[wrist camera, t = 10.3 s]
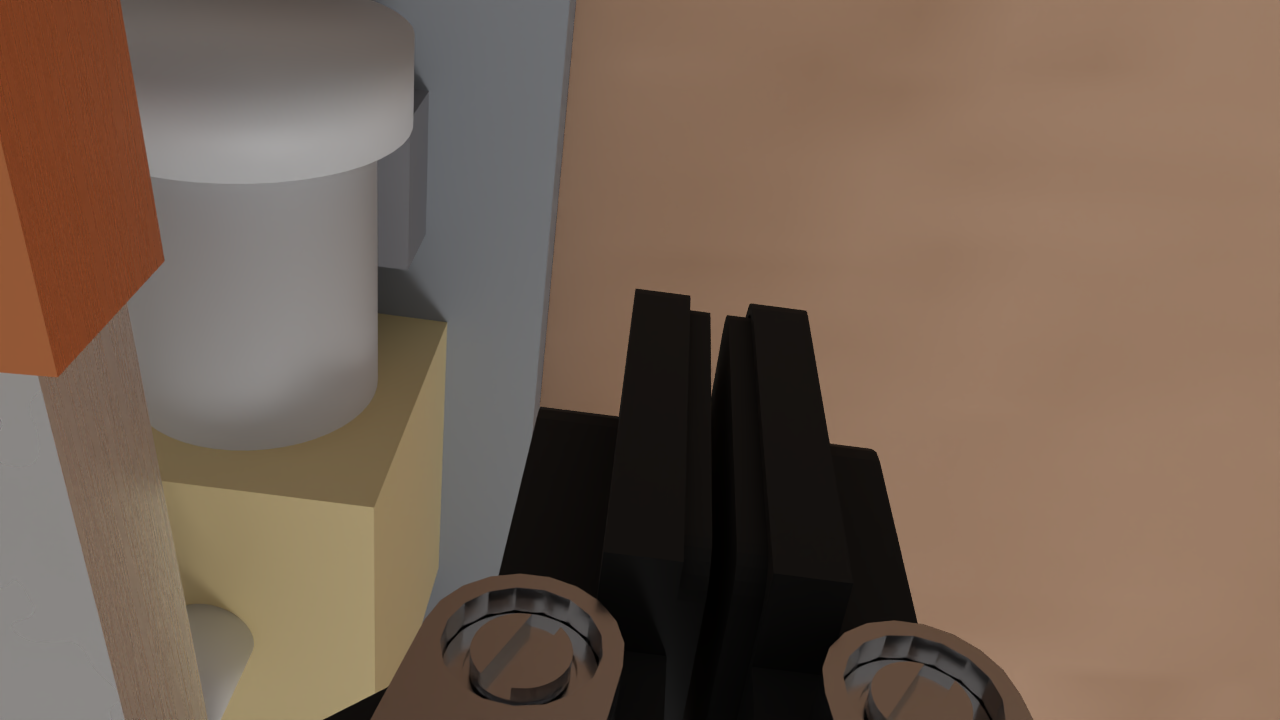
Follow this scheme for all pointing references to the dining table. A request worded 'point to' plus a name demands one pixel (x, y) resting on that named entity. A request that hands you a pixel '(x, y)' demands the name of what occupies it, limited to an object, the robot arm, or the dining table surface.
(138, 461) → the valve lever
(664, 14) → the dining table surface
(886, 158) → the dining table surface
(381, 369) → the valve base
